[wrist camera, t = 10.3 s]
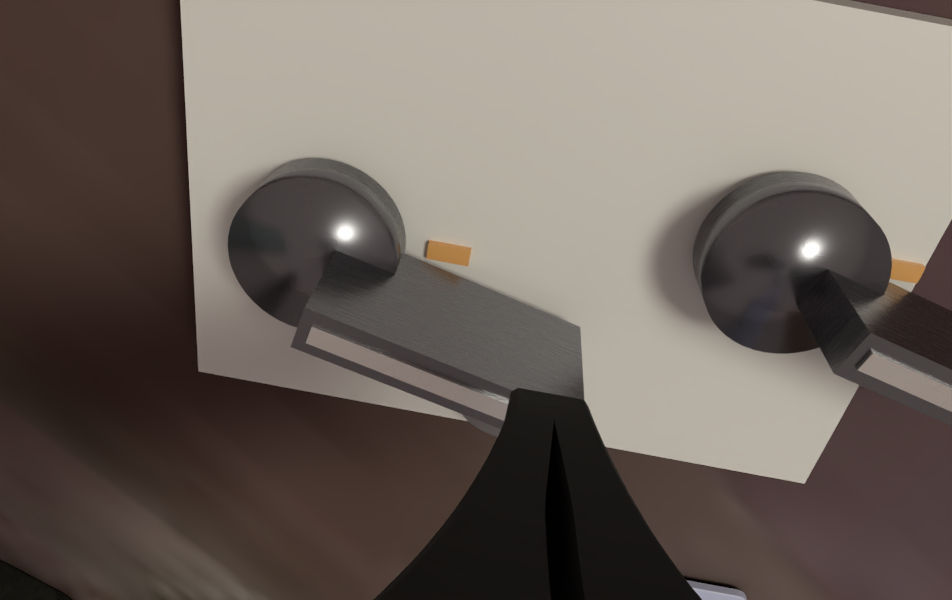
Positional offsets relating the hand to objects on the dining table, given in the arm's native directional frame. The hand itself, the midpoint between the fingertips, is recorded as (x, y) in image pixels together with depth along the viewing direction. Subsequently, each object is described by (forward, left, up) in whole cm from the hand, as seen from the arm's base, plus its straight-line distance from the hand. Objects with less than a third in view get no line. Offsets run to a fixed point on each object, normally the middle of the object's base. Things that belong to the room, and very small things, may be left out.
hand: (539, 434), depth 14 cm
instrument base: (0, 0, -9) cm, 9 cm away
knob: (+1, -9, -8) cm, 11 cm away
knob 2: (-1, +3, -7) cm, 8 cm away
